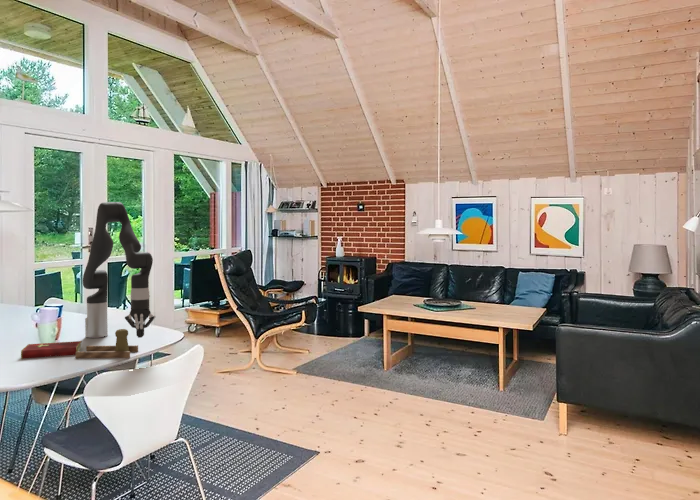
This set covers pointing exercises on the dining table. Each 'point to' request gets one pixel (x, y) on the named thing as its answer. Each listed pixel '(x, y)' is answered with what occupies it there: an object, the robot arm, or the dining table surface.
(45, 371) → the dining table surface
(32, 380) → the dining table surface
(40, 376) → the dining table surface
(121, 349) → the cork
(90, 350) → the brown flat piece
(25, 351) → the hardcover book
